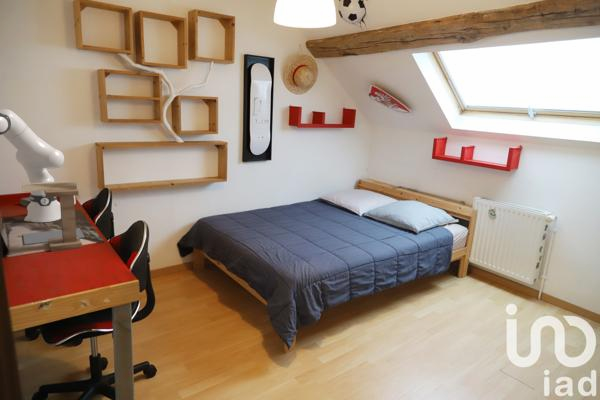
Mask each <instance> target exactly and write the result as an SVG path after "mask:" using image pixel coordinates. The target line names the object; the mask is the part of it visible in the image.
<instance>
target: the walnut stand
mask: <svg viewBox="0 0 600 400" xmlns="http://www.w3.org/2000/svg"><path fill="white" fill-rule="evenodd" d="M44 193H45V195H46V198H48V197H57V198H59V203H60V210H61V219H60V221H61V222H60V223H61V230H62V237H60V238H52V239H48V247H49V249H50V252H56V251H57V252H58V251H65V250H72V249H80V248H82V247H83V243H82V241H81V238H80V239H79V237H78V235H76V228H77V224H76V209H75V205H76V204H75V205H74V196H75V197H76V196H79V195H80V194H79V190H78V189H67V190H50V191H44Z"/></svg>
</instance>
